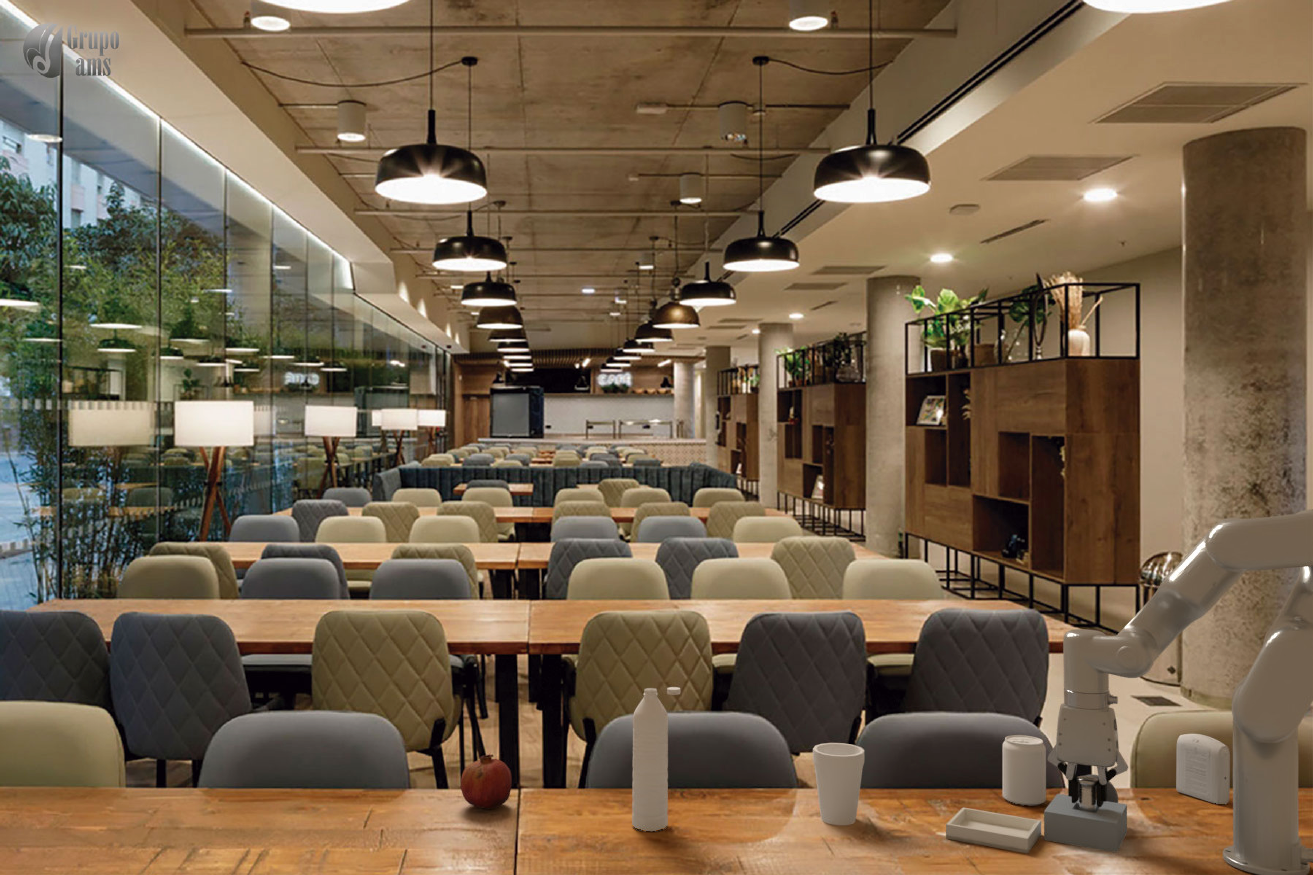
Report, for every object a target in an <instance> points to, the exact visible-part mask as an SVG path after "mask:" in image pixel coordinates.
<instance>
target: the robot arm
mask: <svg viewBox="0 0 1313 875" xmlns="http://www.w3.org/2000/svg"><path fill="white" fill-rule="evenodd" d="M1293 568H1299V573H1298V576H1297V578H1296V580H1295V583H1294V585H1293V587H1292V588H1291V590H1290V593H1289V595H1288V598H1287V599H1286V600H1285V602H1284V604H1283V606H1282V608H1281V610H1280V611H1279V613H1278V615H1277V617H1276V619H1275V620H1274V622H1273V623H1272V624H1271V626H1270V627H1269V628H1268V630H1267V631H1266V632H1265V635H1264V638H1263V643H1262V644H1263V645H1262V647H1261V649H1260V651H1259V653H1258V654H1257V656H1256V657H1255V660H1254V662H1253V664H1252V665H1251V668H1250V670H1249V671H1248V673H1247V675H1245V676H1244V677H1242V678H1241V679H1240V680H1239V681H1238V682H1237V683H1236V685H1235V686H1234V689H1233V692H1232V696H1231V715H1232V817H1233V818H1232V832H1233V833H1232V837H1233V838H1232V839H1233V840H1232V842H1233V844H1232V845H1229V846H1226V847H1225V848H1224V849H1223V851H1222V859H1223V860H1224V861H1225V862H1226V863H1227V864H1229V865H1230V866H1232V867H1234V868H1237V869H1238V870H1240V871H1244V872H1247V873H1250V874H1254V875H1308V874H1309V873H1310V869H1311V868H1310V867H1311V865H1310V863H1313V848H1311V847H1306V845H1302V837H1299V726H1300V725H1301V723H1302V721H1303V719H1304V717H1305V716H1306V714H1307V712H1308V711H1309V709H1310V707H1311V705H1312V704H1313V508H1309V509H1304V510H1300V511H1298V512H1297V513H1293V514H1292V513H1291V514H1285V515H1284V514H1283V515H1274V516H1267V517H1266V516H1264V517H1257V518H1254V517H1253V518H1241V517H1226V518H1224V519H1221V520H1219V521H1218V522H1216V523H1215V524H1214V525H1213V526H1212V528H1210V529H1209V530H1208V532H1206V534H1204V536H1203V537H1202V538H1201V539H1200V540H1199V541H1198V542H1197V543H1196V545H1195V546H1193V548H1192V549H1191V550H1189V552H1188V553H1187V555H1185V556H1184V558H1183V559H1182V560H1181V561H1180V562H1179V563H1178V564H1177V565H1176V566H1175V567H1174V568H1173V570H1172V571H1170V572H1169V573H1168V575H1166V577H1165V578H1164V580H1163V581H1161V583H1160V585H1159V586H1158V588H1157V589H1156V591H1155V593H1154V594H1153V595H1152V596H1151V598H1150V599H1149V600H1148V601H1147V602H1146V603H1145V604H1144V606H1143V607H1142V608H1141V609H1140V610H1139V611H1138V612H1137V613H1136V614H1135V615H1134V616H1133V617H1132V618H1131V620H1130V621H1129V622H1128V623H1127V624H1126V625H1125V626H1124V627H1123V628H1122V629H1121V630H1120V631H1119V632H1118V633H1117V634H1116V635H1106V634H1105V632H1102V631H1100V630H1095V629H1085V628H1078V629H1076V628H1074V629H1070V630H1068V631H1066V632H1065V633H1064V634H1063V643H1062V644H1063V645H1062V646H1063V647H1062V648H1063V652H1062V653H1063V657H1062V658H1063V703H1061V704H1060V707H1059V710H1058V711H1059V712H1058V716H1057V727H1056V737H1055V738H1056V739H1055V740H1056V742H1055V745H1054V747H1052V749H1051V751H1050V752H1049V754H1048V756H1046V761H1048V762H1049V763H1051V764H1052V765H1053V766H1054V767H1057V769H1058V770H1059V771H1060V772H1061V774H1063V775H1064V776H1065V778H1066V780H1067V786H1068V787H1067V794H1068V796H1070V797H1072V803H1076V802H1077V801H1078V799H1079V784H1077V777H1078V775H1077V773H1076V772H1077V767H1078V765H1082V766H1083V765H1084V766H1091V767H1096V769H1097V775H1098V776H1099V780H1098V783H1097V785H1096V800H1097V806H1098V807H1101V806H1102V805H1103V803H1104V802H1106V801H1107V782H1108V781H1109V782H1111V780H1112V779H1114V777H1116V776H1118V775H1120V774H1123V773H1125V772H1127V771H1128V769H1129V765H1128V764H1127V762H1126V760H1125V759H1124V757H1123V755H1122V753H1121V752H1120V746H1119V732H1118V725H1117V723H1118V722H1117V718H1116V712H1115V709H1114V707H1110V706H1111V705H1113V704H1114V705H1117V704H1119V702H1118V701H1119V700H1118V699H1119V698H1118V696H1115V695H1113V694H1111V693H1110V690H1109V689H1110V687H1109V685H1110V684H1109V683H1110V681H1109V680H1110V677H1109V675H1112V676H1116V677H1121V678H1127V679H1138V678H1140V677H1143V676H1145V675H1146V674H1148V673H1149V672H1150V671H1151V669H1152V667H1153V665H1154V663H1155V662H1156V660H1157V659H1158V658H1159V657H1160V656H1161V655H1162V653H1163V652H1164V651H1165V650H1166V649H1167V648H1168V647H1169V646H1170V645H1171V644H1172V643H1173V641H1175V640H1176V639H1177V637H1178V636H1179V635H1180V634H1181V633H1183V632H1184V630H1185V629H1187V628H1188V627H1189V626H1190V625H1191V624H1192V623H1194V622H1196V621H1197V620H1199V619H1201V618H1202V617H1204V616H1205V615H1206V614H1207V613H1208V612H1209V611H1210V610H1211V609H1212V608H1214V606H1215V605H1216V604H1217V603H1218V602H1219V601H1220V600H1221V598H1223V596H1224V595H1225V594H1226V593H1227V592H1228V591H1230V589H1231V588H1232V587H1233V586H1234V585H1235V584H1236V582H1238V580H1240V579H1241V578H1242V577H1243V575H1244V574H1245V573H1246V572H1256V571H1257V572H1258V571H1270V570H1283V569H1284V570H1285V569H1293ZM1115 765H1116V766H1115ZM1108 768H1110V769H1109V770H1108Z"/></svg>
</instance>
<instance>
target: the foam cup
mask: <svg viewBox="0 0 1313 875" xmlns="http://www.w3.org/2000/svg"><path fill="white" fill-rule="evenodd" d="M812 762H813V764H814V766H813V767H814V772H815V781H816V789H817V798H818V805H819V813H820V820H822V822H823V823H826V824H828V825H834V826H848V825H849V826H850V825H852V824H854V823H855V822H856V820H857V819H856V818H857V815H858V814H857V813H858V807H859V801H860V800H859V798H860V791H861V784H862V777H863V776H862V775H863V770H864V769H863V768H864V764H865V749H864V748H863V747H861V746H858V745H855V744H849V743H841V742H827V743H820V744H816V745H814V747H813V748H812Z"/></svg>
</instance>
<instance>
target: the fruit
mask: <svg viewBox="0 0 1313 875" xmlns="http://www.w3.org/2000/svg"><path fill="white" fill-rule="evenodd" d="M493 757H494V754H490V753H489V754H486V755H480V757H479V760H475V761H473V762H471V763H469V764H468V765H467V766H466V767H465V768H464V769H463V772H462V774H461V778H460V789H461V793H462V796H463V798H464V800H465V802H467V803H468V804H469V805H471V806H473V807H477V808H481V809H487V810H489V809H495V808H497V807H499V806H502V805H504V804H505V803H506V802H507V801H508V800H509V798H510V795H511V790H512V772H511V770H510V768H509V767H508V765H507V764H506V763H505V762H503V760H500V759H497V758H493Z"/></svg>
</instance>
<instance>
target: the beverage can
mask: <svg viewBox="0 0 1313 875" xmlns="http://www.w3.org/2000/svg"><path fill="white" fill-rule="evenodd" d="M1043 740H1044V739H1041V738H1039V737H1036V736H1031V735H1025V734H1024V735H1023V734H1016V735H1015V734H1014V735H1008V736H1005V738H1004V741H1003V742H1002V798H1003V799H1005V800H1006V801H1008V802H1009V801H1010V802H1009V803H1011V802H1013V803H1012V804H1014V803H1015V804H1014V805H1017V804H1021V805H1020V806H1024V805H1028V806H1027V807H1032V806H1038V805H1039V806H1040V805H1041V804H1043V803H1045V802H1046V800H1047V794H1046V793H1047V748H1046V745H1045V744H1044V741H1043Z"/></svg>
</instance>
